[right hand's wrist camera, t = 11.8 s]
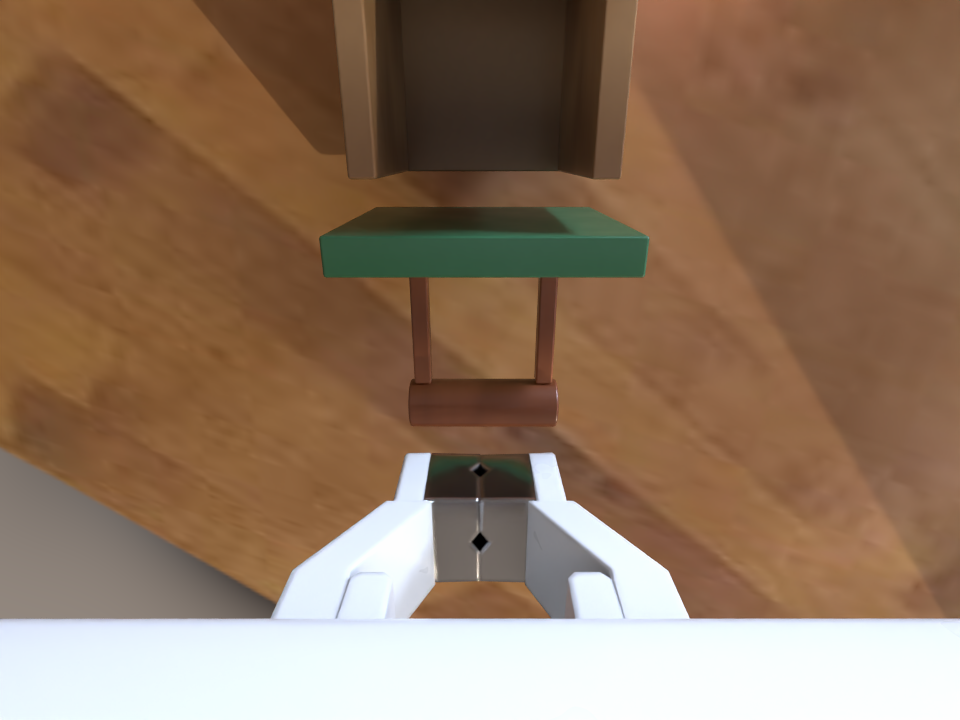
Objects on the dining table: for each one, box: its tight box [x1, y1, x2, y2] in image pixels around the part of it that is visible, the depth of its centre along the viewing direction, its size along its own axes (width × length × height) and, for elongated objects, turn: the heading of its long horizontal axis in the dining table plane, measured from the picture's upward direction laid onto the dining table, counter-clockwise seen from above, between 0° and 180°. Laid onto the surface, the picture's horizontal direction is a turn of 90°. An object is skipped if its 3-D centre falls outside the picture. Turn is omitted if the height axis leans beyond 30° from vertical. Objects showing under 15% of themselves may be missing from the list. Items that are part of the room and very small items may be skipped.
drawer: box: [319, 0, 649, 427], centre depth 17 cm, size 24×9×8 cm, turn 0°
